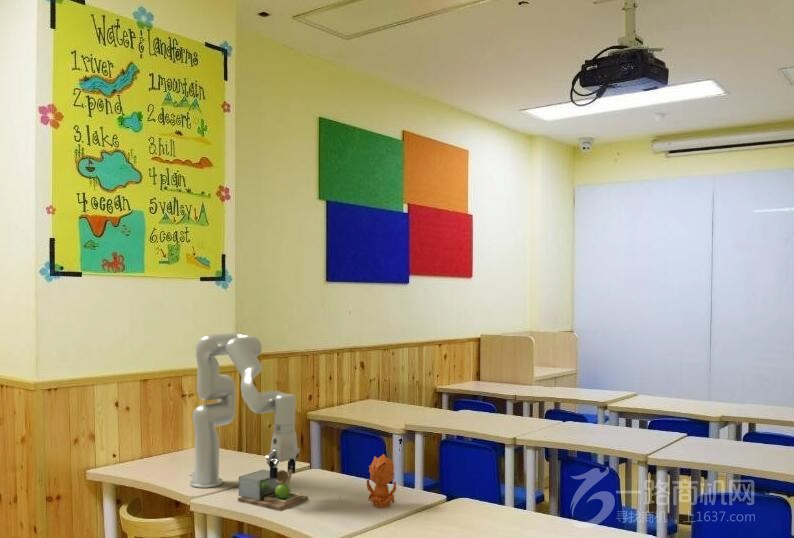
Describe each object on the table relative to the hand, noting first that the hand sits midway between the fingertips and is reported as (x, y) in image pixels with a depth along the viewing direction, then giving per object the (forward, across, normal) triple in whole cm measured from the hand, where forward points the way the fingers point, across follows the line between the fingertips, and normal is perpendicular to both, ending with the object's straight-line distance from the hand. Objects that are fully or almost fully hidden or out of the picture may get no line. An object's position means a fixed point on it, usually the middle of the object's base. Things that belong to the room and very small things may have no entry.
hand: (282, 475), depth 268 cm
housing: (+9, 0, +10) cm, 13 cm away
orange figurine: (+9, +18, -32) cm, 38 cm away
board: (+10, 0, +4) cm, 11 cm away
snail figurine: (+9, 0, -1) cm, 9 cm away
